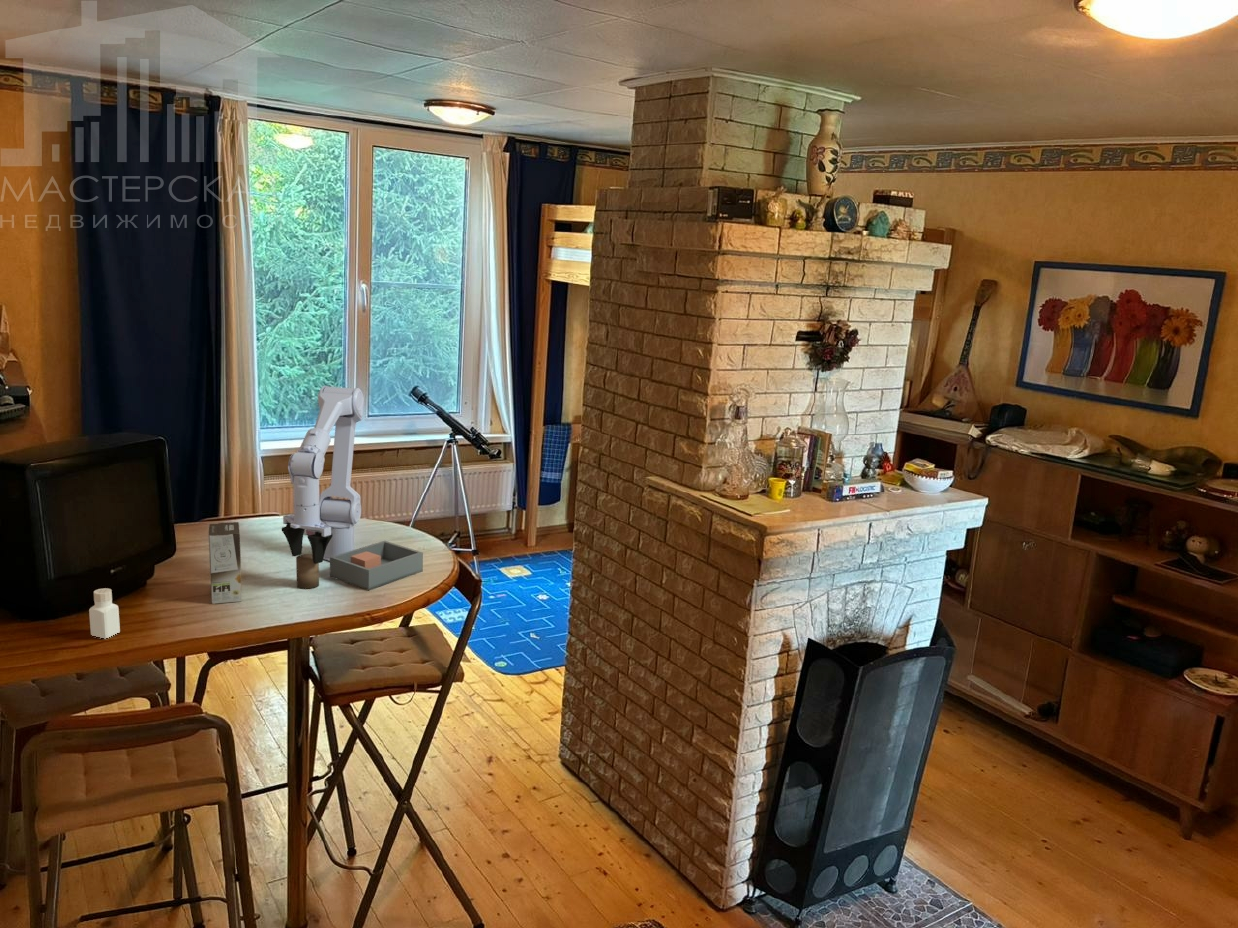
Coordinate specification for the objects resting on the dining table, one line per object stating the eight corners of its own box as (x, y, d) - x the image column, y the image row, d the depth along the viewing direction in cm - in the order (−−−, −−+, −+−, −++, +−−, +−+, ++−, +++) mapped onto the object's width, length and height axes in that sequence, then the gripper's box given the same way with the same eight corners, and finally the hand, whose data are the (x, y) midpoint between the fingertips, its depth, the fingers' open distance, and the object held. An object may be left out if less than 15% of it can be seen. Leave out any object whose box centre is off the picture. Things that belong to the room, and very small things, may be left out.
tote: (330, 576, 227) (329, 557, 226) (384, 558, 241) (384, 540, 240) (368, 590, 220) (368, 570, 219) (422, 571, 234) (422, 552, 233)
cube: (350, 575, 227) (350, 556, 226) (366, 570, 231) (366, 551, 230) (364, 580, 224) (364, 560, 223) (380, 575, 228) (380, 555, 227)
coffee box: (242, 601, 209) (240, 533, 205) (211, 604, 206) (208, 535, 203) (241, 587, 217) (238, 521, 213) (211, 589, 214) (208, 523, 211)
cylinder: (292, 585, 220) (291, 557, 218) (309, 580, 224) (309, 552, 222) (306, 591, 217) (305, 562, 216) (323, 585, 221) (323, 557, 220)
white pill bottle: (105, 629, 190) (102, 586, 188) (121, 633, 189) (118, 589, 187) (89, 637, 187) (86, 592, 185) (105, 640, 186) (102, 595, 183)
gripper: (271, 500, 216) (273, 555, 219) (313, 512, 209) (313, 570, 212) (297, 494, 222) (297, 548, 225) (338, 506, 215) (338, 562, 218)
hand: (307, 558), depth 219 cm, fingers open, 7 cm apart
